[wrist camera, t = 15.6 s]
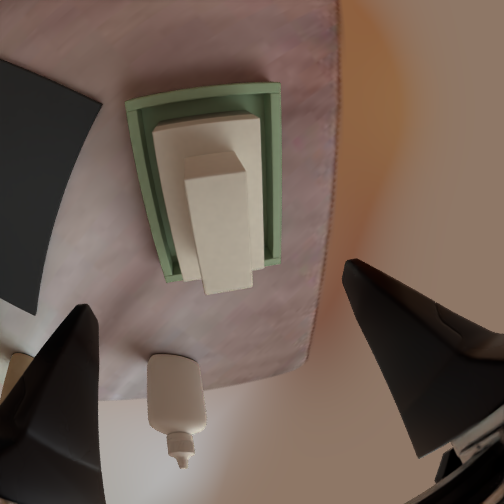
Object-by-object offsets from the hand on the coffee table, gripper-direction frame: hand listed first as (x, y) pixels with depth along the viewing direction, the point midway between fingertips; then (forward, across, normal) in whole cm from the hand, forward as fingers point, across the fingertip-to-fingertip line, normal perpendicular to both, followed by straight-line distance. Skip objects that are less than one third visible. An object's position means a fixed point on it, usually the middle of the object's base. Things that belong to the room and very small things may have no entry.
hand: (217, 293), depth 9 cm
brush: (+10, -1, 0) cm, 10 cm away
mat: (+10, +16, -2) cm, 19 cm away
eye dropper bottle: (+10, +6, +19) cm, 23 cm away
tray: (+10, -1, 0) cm, 10 cm away
